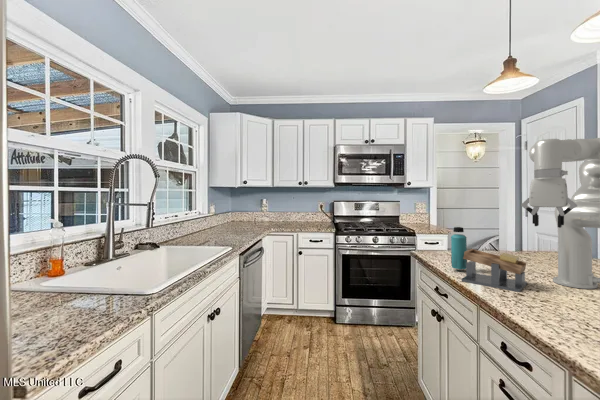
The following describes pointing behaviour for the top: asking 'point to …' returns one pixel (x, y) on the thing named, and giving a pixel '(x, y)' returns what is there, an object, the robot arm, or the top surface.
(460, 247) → the beverage bottle
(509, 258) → the brass block
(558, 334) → the top surface
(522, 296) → the top surface
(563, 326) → the top surface
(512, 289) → the beam stand
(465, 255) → the beam
